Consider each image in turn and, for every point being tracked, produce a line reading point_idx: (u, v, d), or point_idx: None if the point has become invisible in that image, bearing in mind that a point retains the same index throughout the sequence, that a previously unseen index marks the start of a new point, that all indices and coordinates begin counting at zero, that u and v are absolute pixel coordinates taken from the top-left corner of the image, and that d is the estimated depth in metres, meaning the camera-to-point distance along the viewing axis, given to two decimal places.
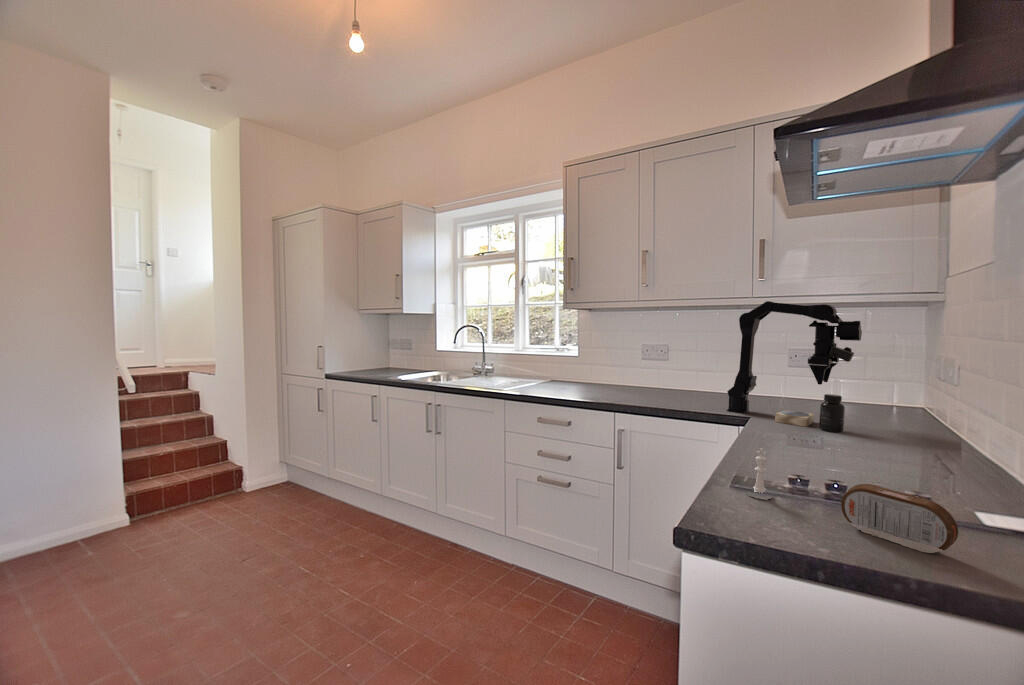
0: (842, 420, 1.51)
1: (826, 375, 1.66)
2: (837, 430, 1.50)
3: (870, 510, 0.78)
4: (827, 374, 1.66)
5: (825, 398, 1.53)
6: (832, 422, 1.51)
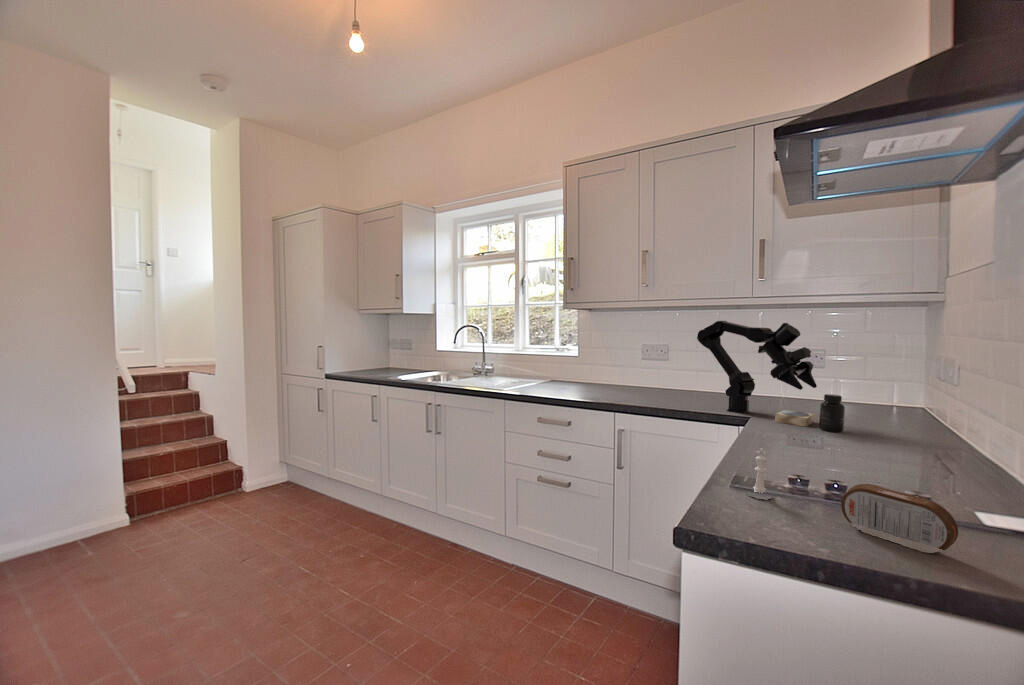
0: (842, 420, 1.51)
1: (810, 381, 1.63)
2: (837, 430, 1.50)
3: (870, 510, 0.78)
4: (811, 380, 1.63)
5: (825, 398, 1.53)
6: (832, 422, 1.51)
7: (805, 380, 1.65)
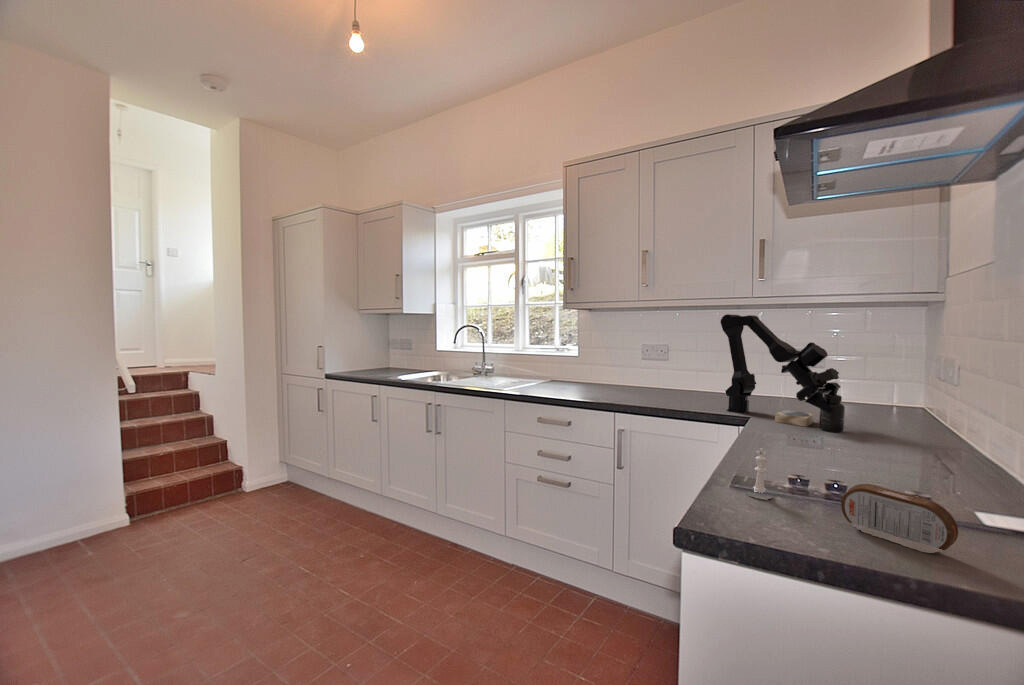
0: (842, 420, 1.51)
1: None
2: (837, 430, 1.50)
3: (870, 510, 0.78)
4: None
5: (825, 398, 1.53)
6: (832, 422, 1.51)
7: None
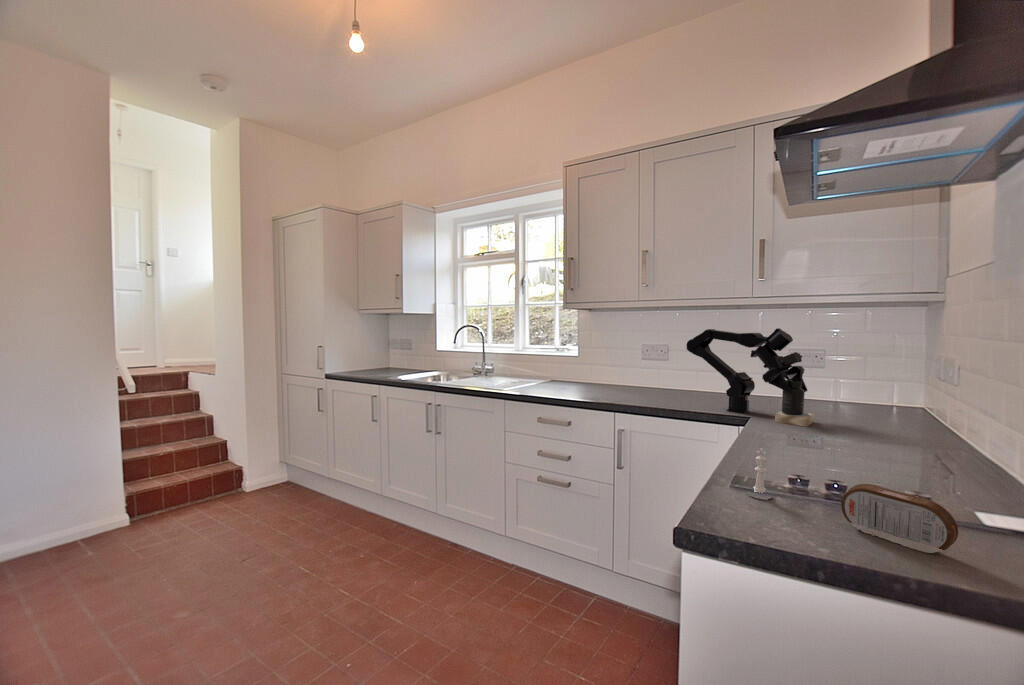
0: (802, 403, 1.62)
1: None
2: (797, 413, 1.62)
3: (870, 510, 0.78)
4: None
5: None
6: (792, 406, 1.62)
7: None
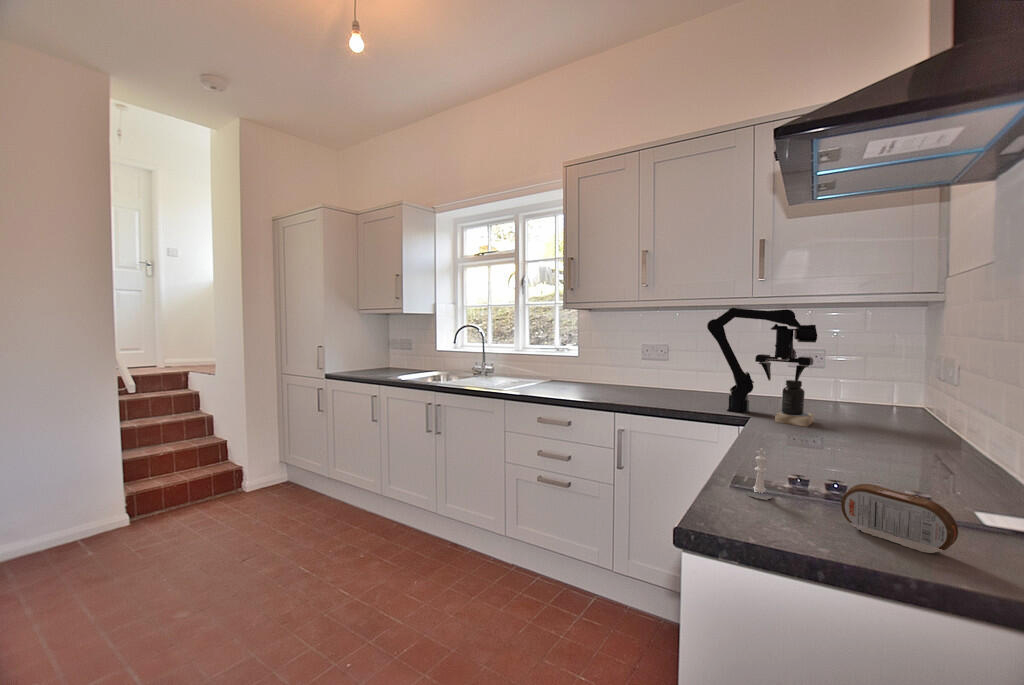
0: (802, 403, 1.62)
1: (769, 373, 1.81)
2: (797, 413, 1.62)
3: (870, 510, 0.78)
4: (770, 373, 1.81)
5: (787, 383, 1.65)
6: (792, 406, 1.62)
7: (768, 370, 1.80)
